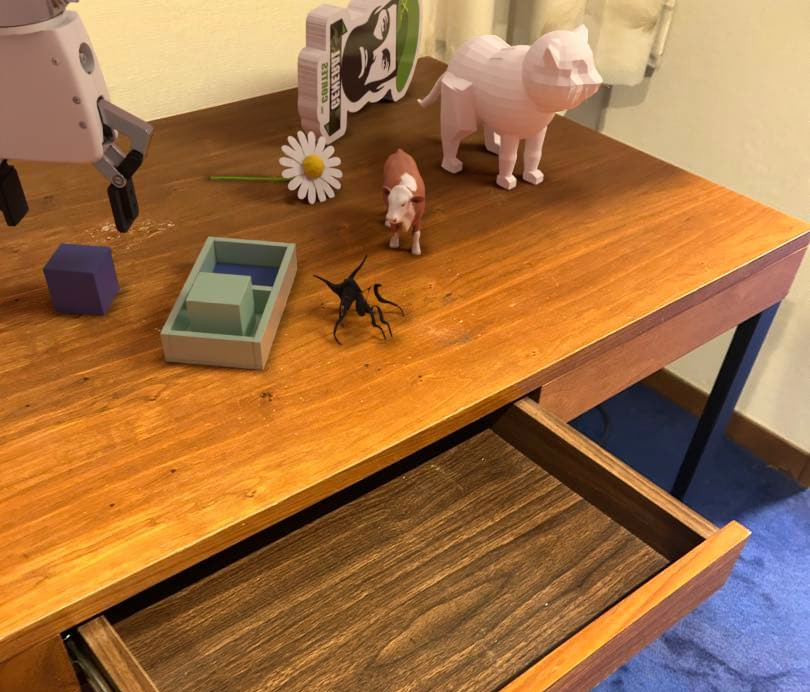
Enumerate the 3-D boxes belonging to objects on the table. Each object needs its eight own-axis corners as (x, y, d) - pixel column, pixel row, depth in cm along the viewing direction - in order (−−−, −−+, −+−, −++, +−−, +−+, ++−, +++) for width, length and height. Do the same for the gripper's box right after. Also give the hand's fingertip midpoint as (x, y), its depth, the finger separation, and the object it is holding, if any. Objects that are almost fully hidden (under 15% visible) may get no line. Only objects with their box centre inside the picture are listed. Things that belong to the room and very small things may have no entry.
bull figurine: (379, 274, 85) (380, 195, 79) (382, 209, 94) (384, 133, 88) (423, 275, 85) (427, 196, 79) (422, 210, 94) (426, 135, 88)
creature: (418, 337, 80) (367, 284, 83) (430, 293, 76) (375, 239, 78) (352, 368, 77) (300, 312, 79) (360, 324, 72) (305, 266, 75)
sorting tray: (166, 363, 74) (159, 333, 72) (212, 265, 85) (208, 236, 83) (263, 372, 74) (260, 342, 72) (297, 272, 85) (295, 243, 83)
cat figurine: (385, 149, 104) (388, -7, 92) (442, 125, 110) (452, -26, 97) (549, 223, 93) (578, 58, 81) (603, 193, 99) (638, 33, 86)
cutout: (310, 28, 93) (423, -45, 106) (289, 23, 93) (404, -49, 107) (321, 163, 105) (422, 82, 118) (302, 157, 105) (404, 78, 119)
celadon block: (193, 346, 75) (185, 300, 72) (206, 316, 78) (199, 271, 75) (244, 350, 75) (239, 304, 72) (255, 321, 78) (251, 275, 75)
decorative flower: (200, 121, 91) (341, 124, 92) (210, 144, 97) (342, 147, 98) (201, 196, 91) (341, 199, 92) (211, 214, 98) (343, 216, 98)
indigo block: (55, 314, 79) (41, 268, 75) (73, 287, 82) (60, 242, 78) (104, 318, 79) (93, 273, 75) (120, 291, 82) (110, 246, 78)
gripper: (141, -14, 64) (182, 207, 76) (-84, -24, 64) (-6, 196, 77) (108, 18, 58) (158, 250, 71) (-135, 7, 59) (-43, 238, 72)
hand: (73, 222), depth 74 cm, fingers open, 9 cm apart
